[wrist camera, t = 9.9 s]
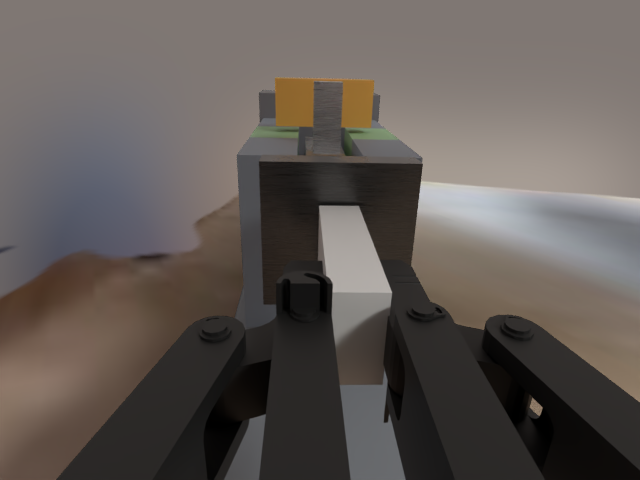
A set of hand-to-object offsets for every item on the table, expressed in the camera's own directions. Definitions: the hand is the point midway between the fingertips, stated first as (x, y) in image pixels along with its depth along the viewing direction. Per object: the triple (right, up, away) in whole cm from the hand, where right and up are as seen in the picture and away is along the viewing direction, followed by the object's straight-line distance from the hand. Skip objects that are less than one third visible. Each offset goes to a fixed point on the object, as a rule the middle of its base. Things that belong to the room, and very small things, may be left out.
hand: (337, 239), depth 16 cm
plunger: (0, +1, +9) cm, 9 cm away
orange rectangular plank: (0, +8, +13) cm, 15 cm away
